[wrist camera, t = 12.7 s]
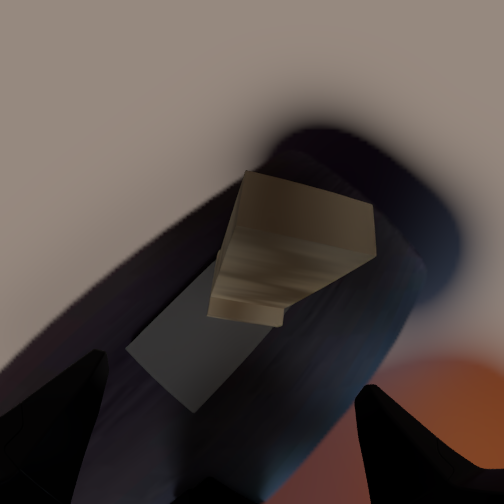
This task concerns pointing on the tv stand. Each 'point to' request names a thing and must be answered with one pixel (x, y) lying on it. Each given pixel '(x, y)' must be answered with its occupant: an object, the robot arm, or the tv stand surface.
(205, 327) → the slate tile
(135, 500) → the tv stand surface
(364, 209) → the tapered block
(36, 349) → the tv stand surface
